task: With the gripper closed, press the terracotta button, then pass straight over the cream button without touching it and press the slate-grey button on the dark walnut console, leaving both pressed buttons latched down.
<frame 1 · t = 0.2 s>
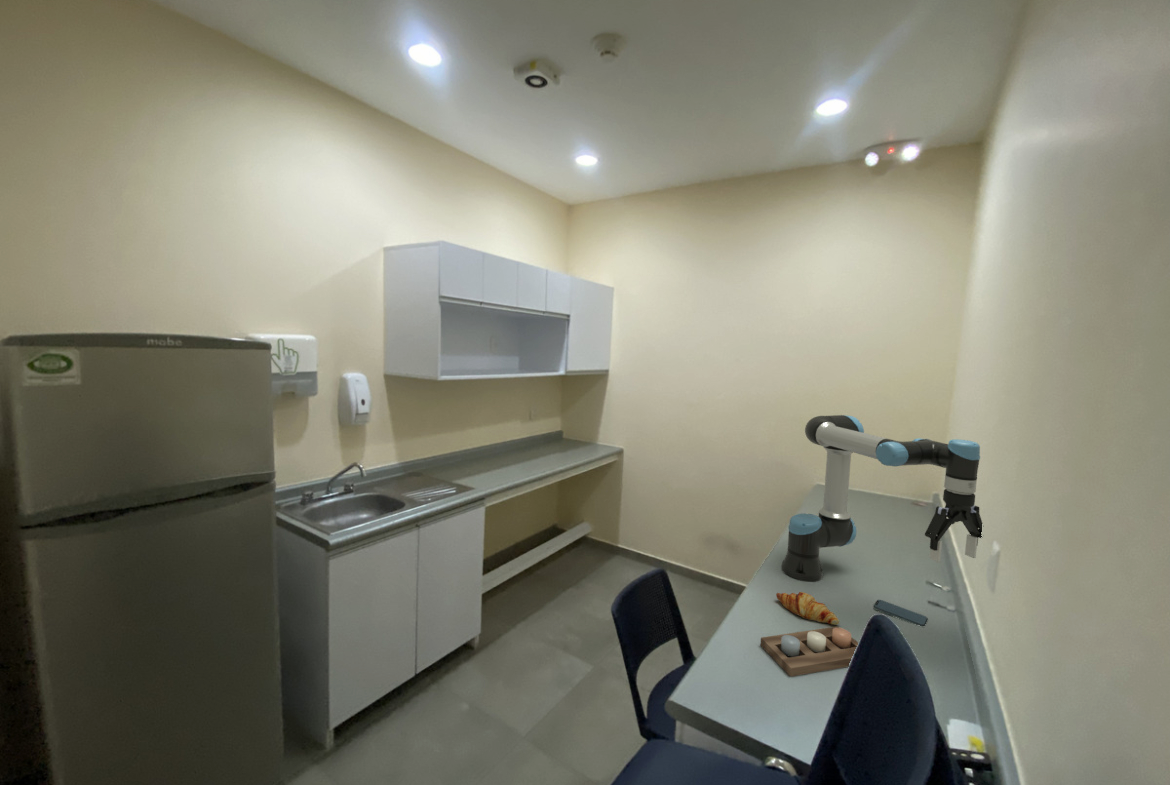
hand: (952, 558, 144), 28 cm above the table, fingers open, 13 cm apart
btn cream: (816, 641, 140), point 4 cm above the table, slide at 0.0 cm
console: (815, 653, 140), on the table
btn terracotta: (841, 637, 142), point 4 cm above the table, slide at 0.0 cm
smartphone: (899, 616, 162), on the table
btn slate: (790, 645, 138), point 4 cm above the table, slide at 0.0 cm
croissant: (805, 614, 162), on the table
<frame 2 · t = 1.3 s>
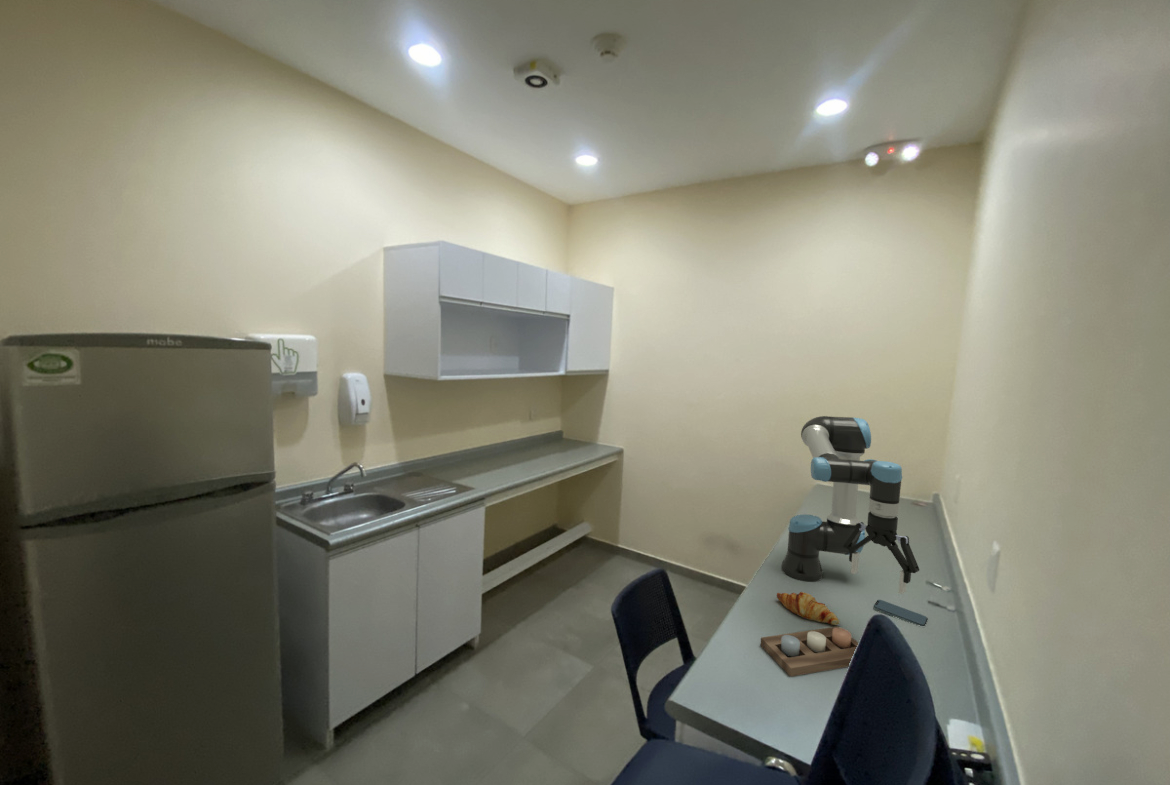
hand: (877, 582, 141), 21 cm above the table, fingers open, 13 cm apart
nothing on the table moved.
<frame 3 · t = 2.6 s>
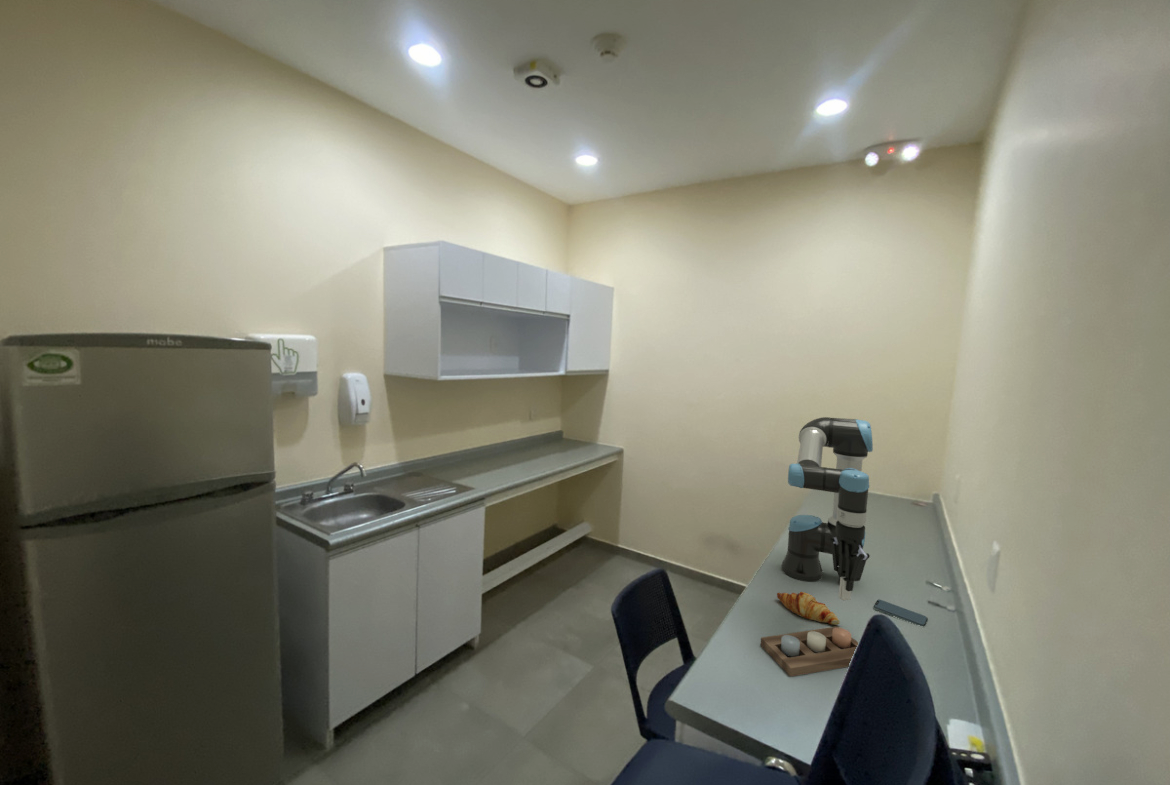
hand: (844, 598, 141), 16 cm above the table, fingers closed
nothing on the table moved.
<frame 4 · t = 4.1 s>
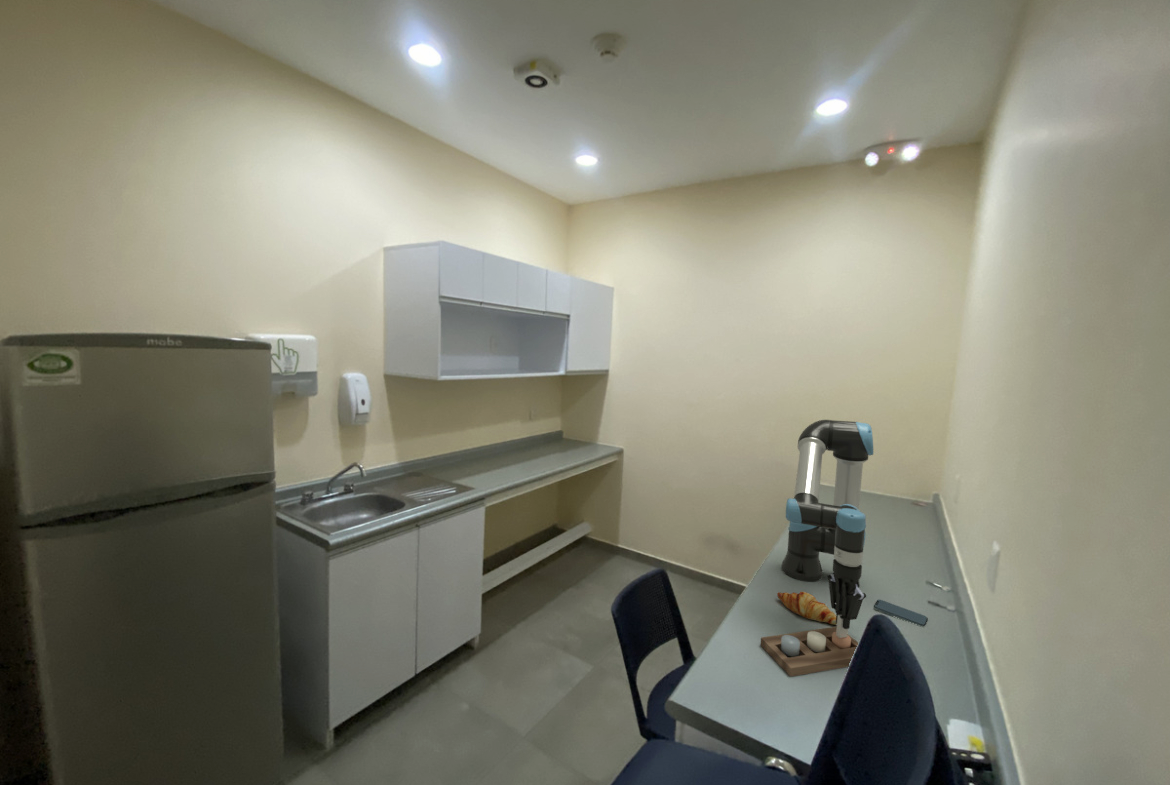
hand: (841, 636, 142), 4 cm above the table, fingers closed
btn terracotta: (841, 642, 142), point 2 cm above the table, slide at 1.3 cm, touching gripper
everything else where it was.
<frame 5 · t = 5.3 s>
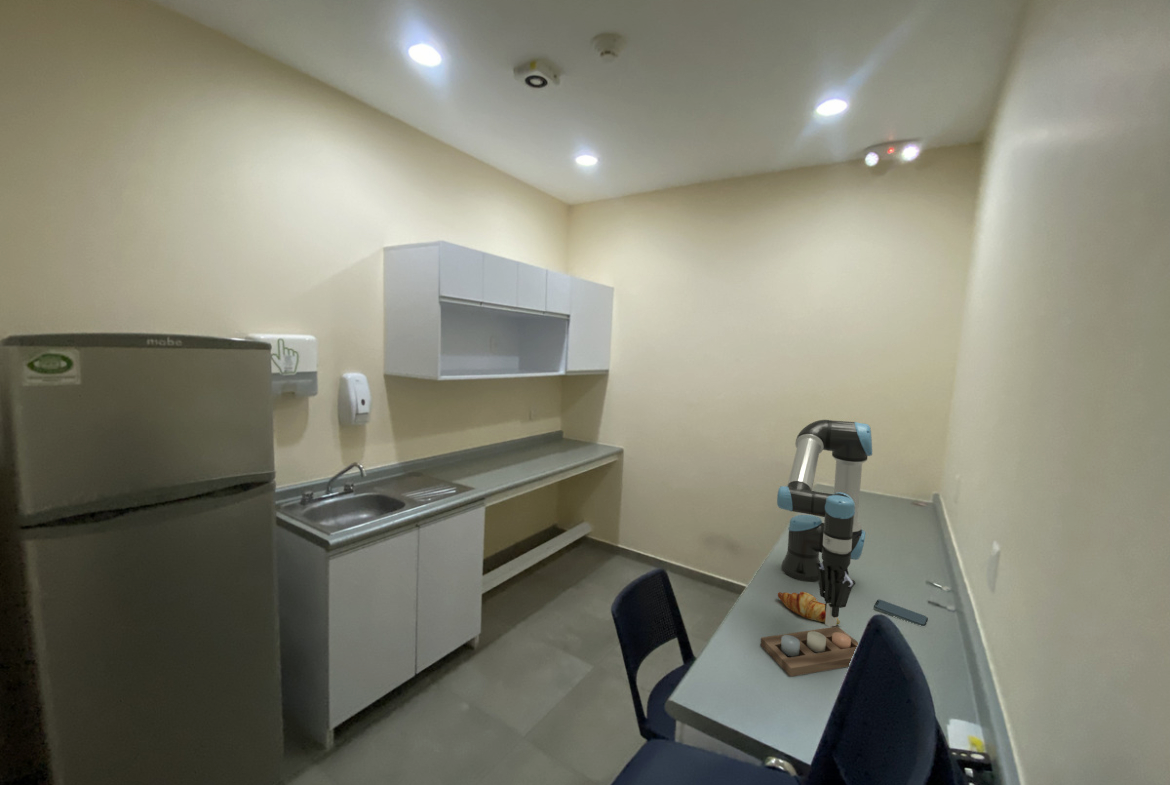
hand: (830, 624, 140), 9 cm above the table, fingers closed
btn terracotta: (841, 642, 142), point 2 cm above the table, slide at 1.5 cm
everything else where it was.
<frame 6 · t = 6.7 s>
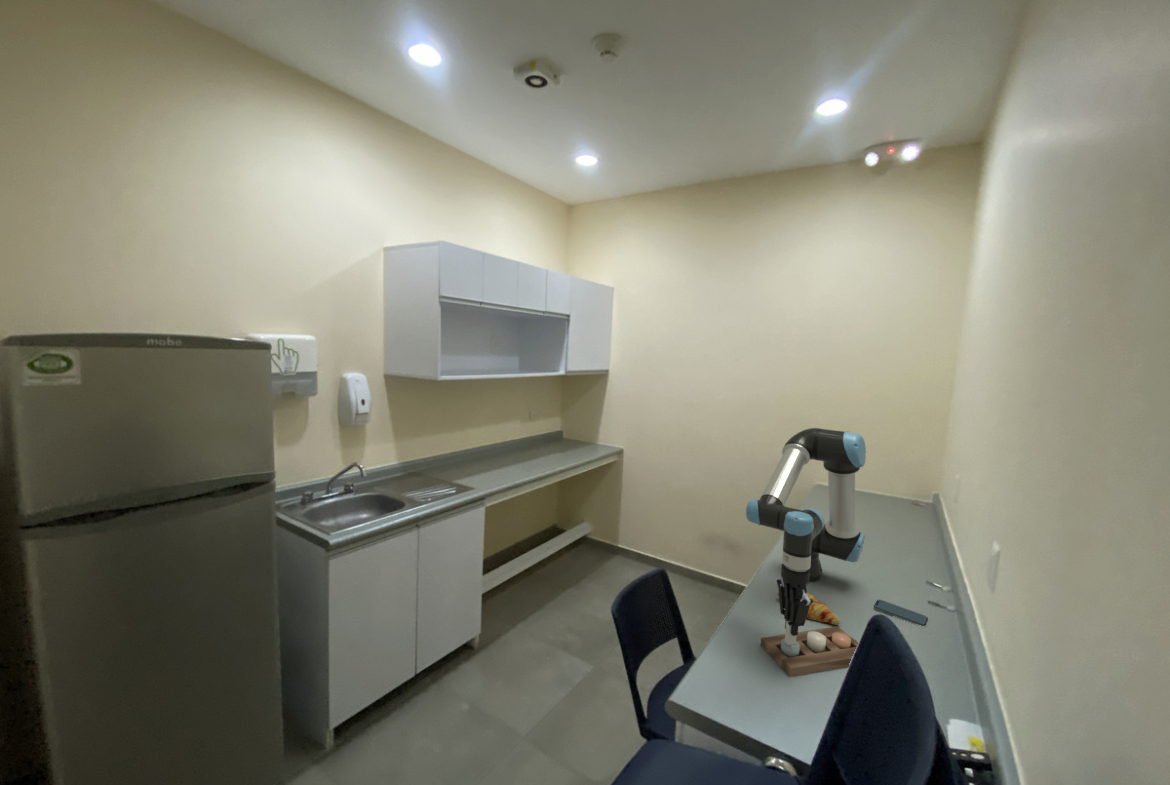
hand: (790, 642, 138), 5 cm above the table, fingers closed
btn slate: (790, 649, 138), point 3 cm above the table, slide at 1.0 cm, touching gripper
everything else where it was.
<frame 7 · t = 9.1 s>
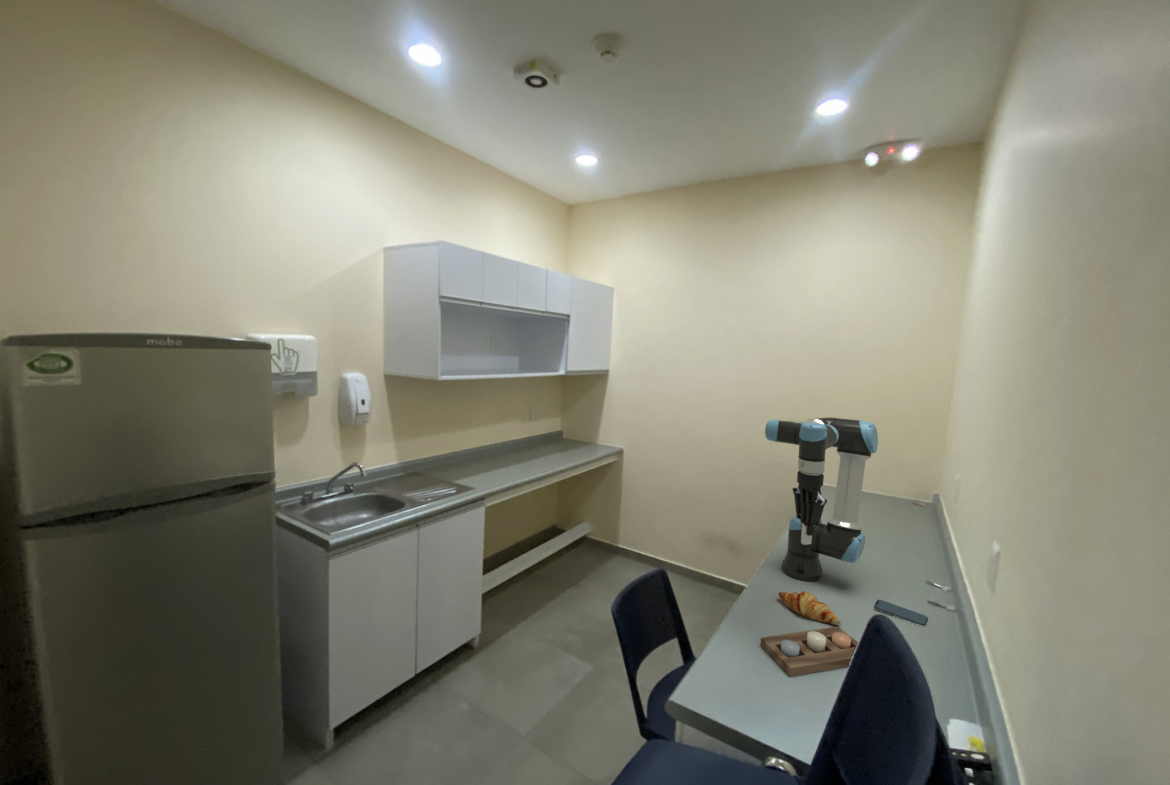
hand: (806, 543, 150), 29 cm above the table, fingers closed
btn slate: (789, 650, 138), point 2 cm above the table, slide at 1.5 cm
everything else where it was.
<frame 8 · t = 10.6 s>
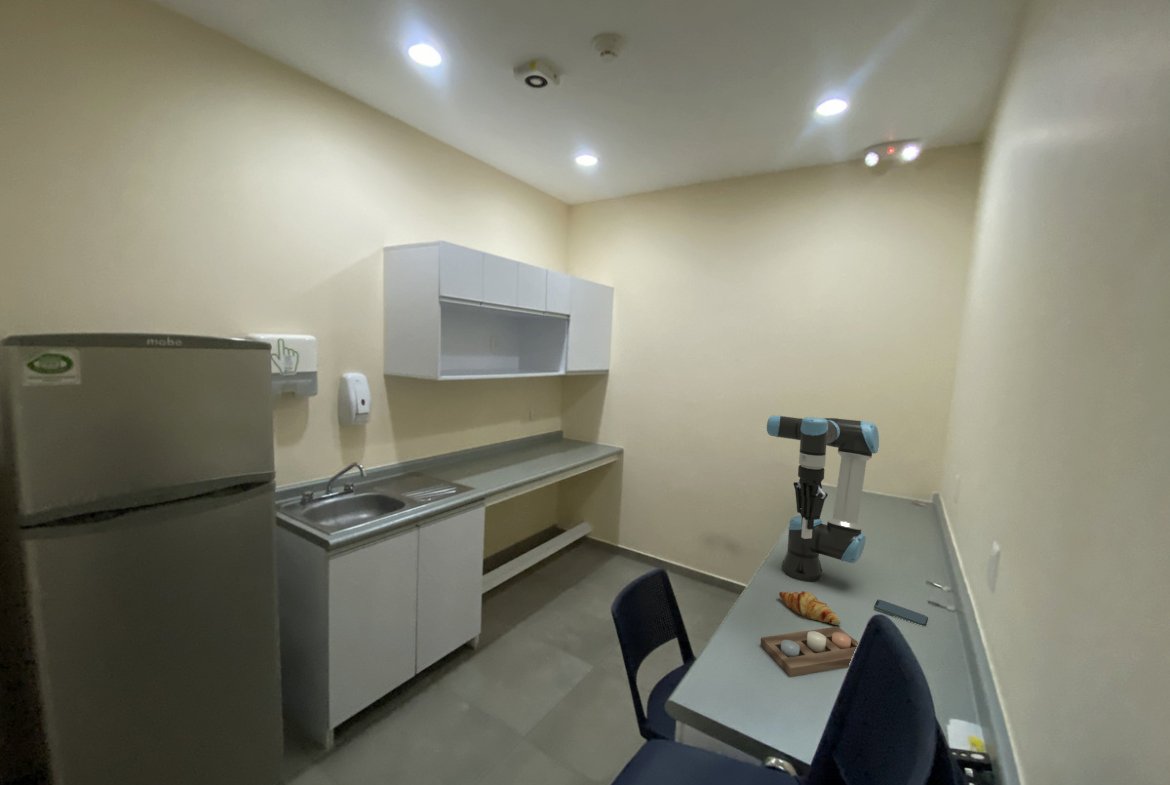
hand: (806, 537, 151), 30 cm above the table, fingers closed
at the end: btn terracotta slide at 1.5 cm; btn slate slide at 1.5 cm; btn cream slide at 0.0 cm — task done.
